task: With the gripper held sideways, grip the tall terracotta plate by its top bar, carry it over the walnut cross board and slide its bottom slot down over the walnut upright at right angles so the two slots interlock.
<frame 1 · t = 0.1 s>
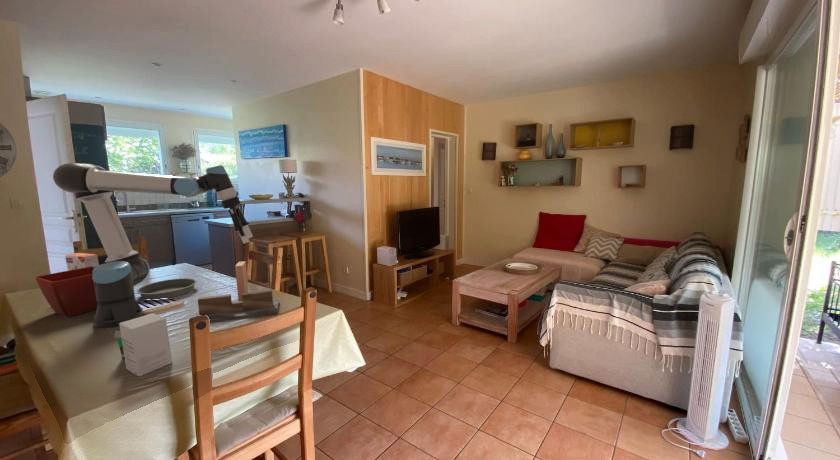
hand: (248, 240, 166), 28 cm above the table, tool tilted 20°, fingers open, 13 cm apart
cracker box: (87, 295, 173), on the table
supplement box: (149, 366, 106), on the table
cake pan: (168, 294, 175), on the table
plant pot: (79, 310, 153), on the table
halving plate: (243, 300, 163), on the table
cross board: (238, 312, 148), on the table
food container: (143, 352, 115), on the table
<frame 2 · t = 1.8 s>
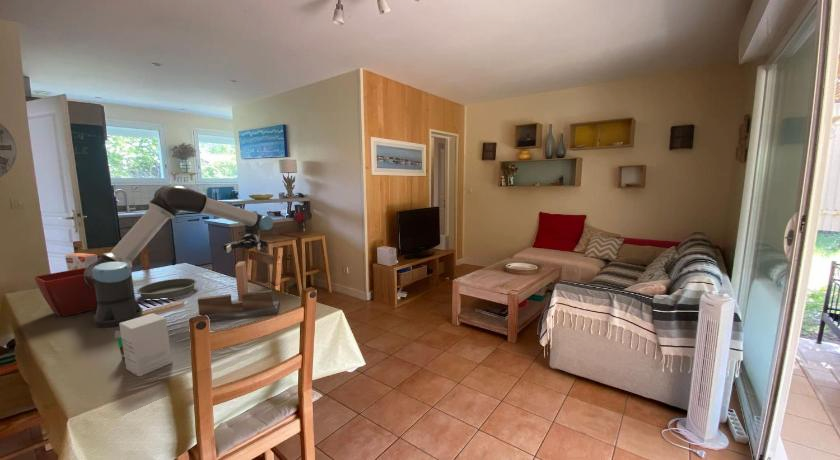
hand: (243, 248, 168), 23 cm above the table, tool horizontal, fingers open, 13 cm apart
plant pot: (77, 310, 153), on the table, touching arm
everything else where it was.
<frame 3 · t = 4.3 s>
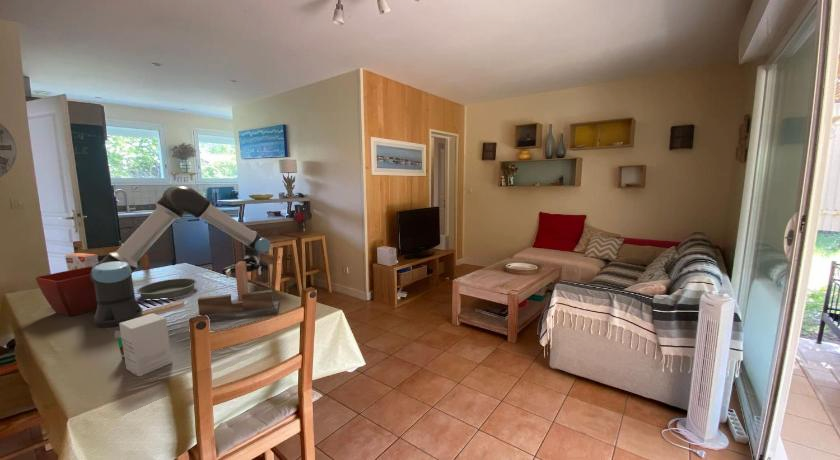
hand: (243, 273, 162), 13 cm above the table, tool horizontal, fingers open, 13 cm apart
plant pot: (81, 310, 154), on the table, touching arm
everything else where it was.
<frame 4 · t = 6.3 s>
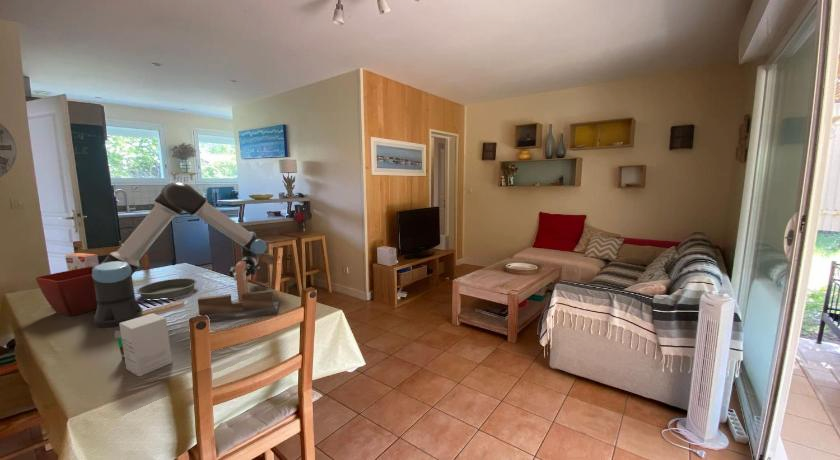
hand: (239, 277, 155), 13 cm above the table, tool horizontal, fingers closed on halving plate, 3 cm apart
plant pot: (81, 310, 154), on the table
halving plate: (243, 300, 163), on the table, touching gripper
everything else where it was.
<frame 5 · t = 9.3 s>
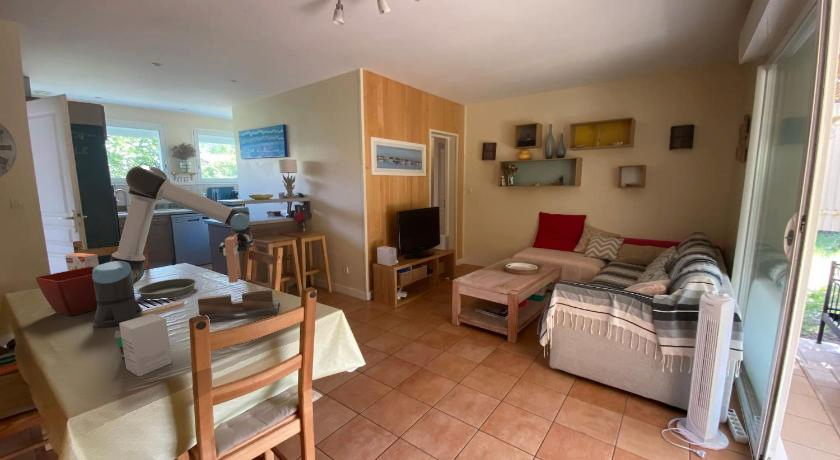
hand: (229, 251, 139), 28 cm above the table, tool horizontal, fingers closed on halving plate, 3 cm apart
halving plate: (235, 279, 146), point 15 cm above the table, touching gripper
everything else where it was.
when the fingers open (15 cm above the table, at t = 12.6 s): halving plate stays where it is, resting on cross board.
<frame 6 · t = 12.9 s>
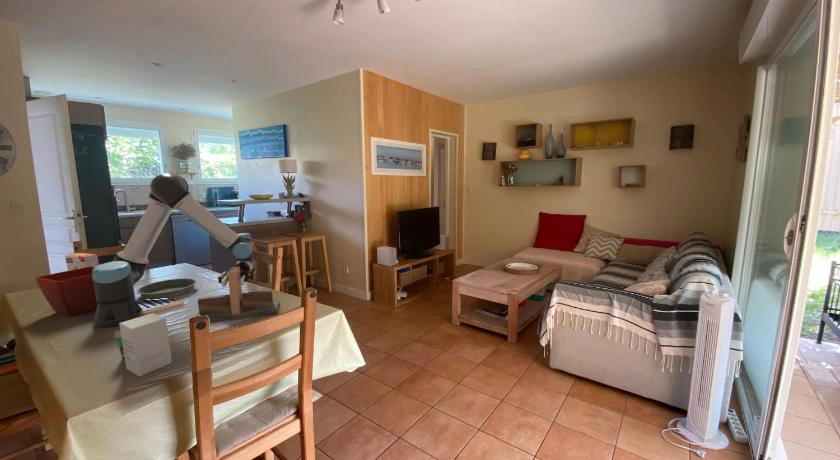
hand: (232, 283, 141), 15 cm above the table, tool horizontal, fingers open, 6 cm apart
halving plate: (237, 310, 148), point 1 cm above the table, touching cross board
everything else where it was.
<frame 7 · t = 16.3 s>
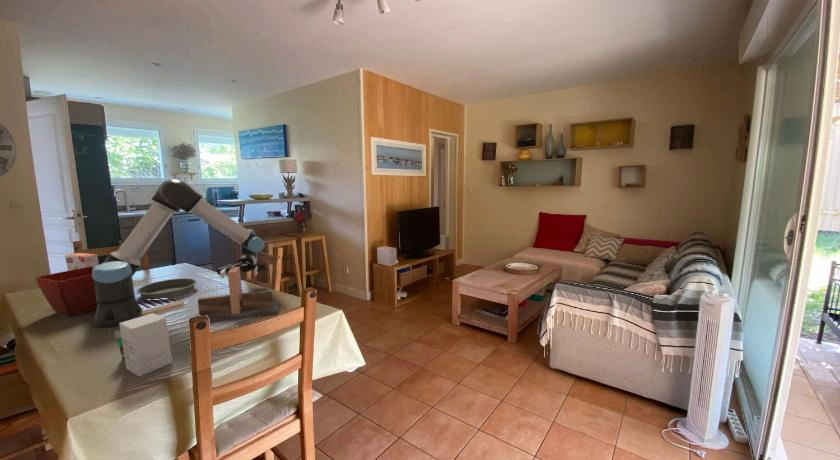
hand: (238, 274, 155), 15 cm above the table, tool horizontal, fingers open, 13 cm apart
nothing on the table moved.
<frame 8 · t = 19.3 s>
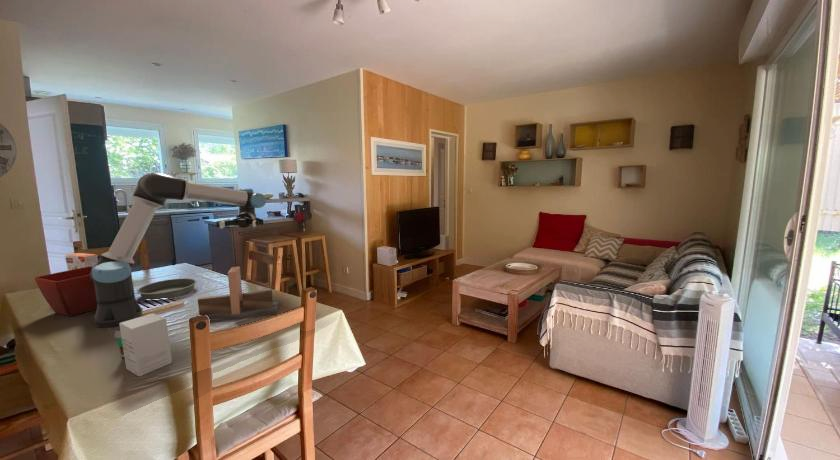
hand: (237, 224, 158), 36 cm above the table, tool horizontal, fingers open, 13 cm apart
plant pot: (80, 310, 154), on the table, touching arm
everything else where it was.
at the end: halving plate 0.0 cm off-centre on the cross board, point 1.2 cm above the cross board's base; halving plate tilted 0°; the gripper is holding nothing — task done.
